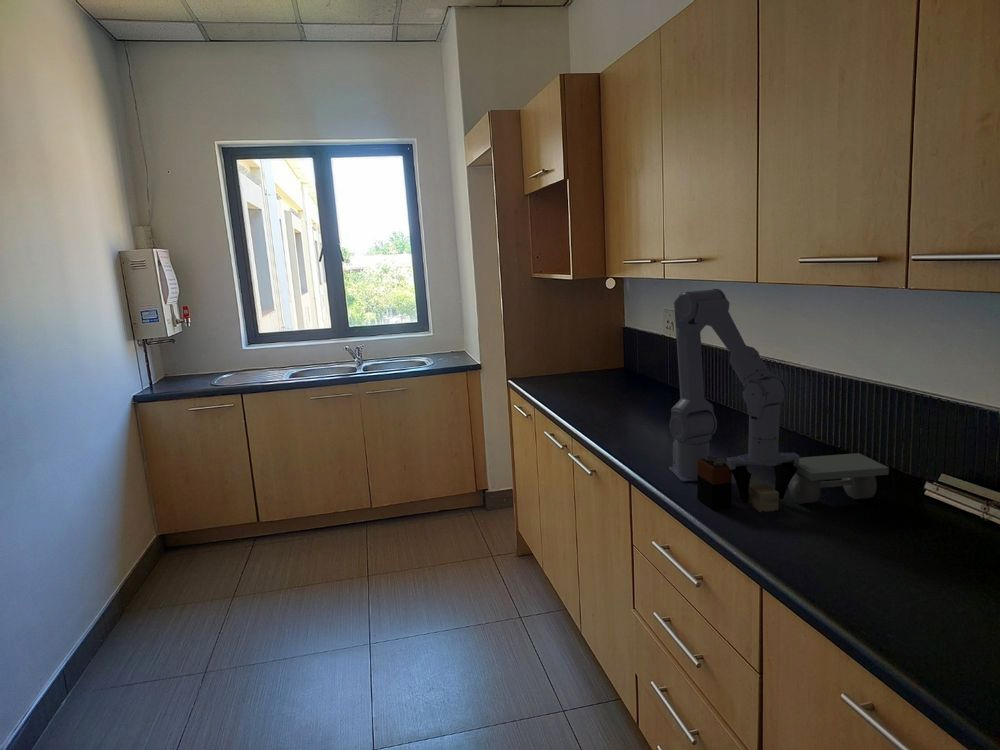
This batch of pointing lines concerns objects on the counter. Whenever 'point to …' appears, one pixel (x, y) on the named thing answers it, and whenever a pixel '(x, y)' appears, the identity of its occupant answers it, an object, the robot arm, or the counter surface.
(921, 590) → the counter surface
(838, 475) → the trolley
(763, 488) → the chock
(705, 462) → the battery
